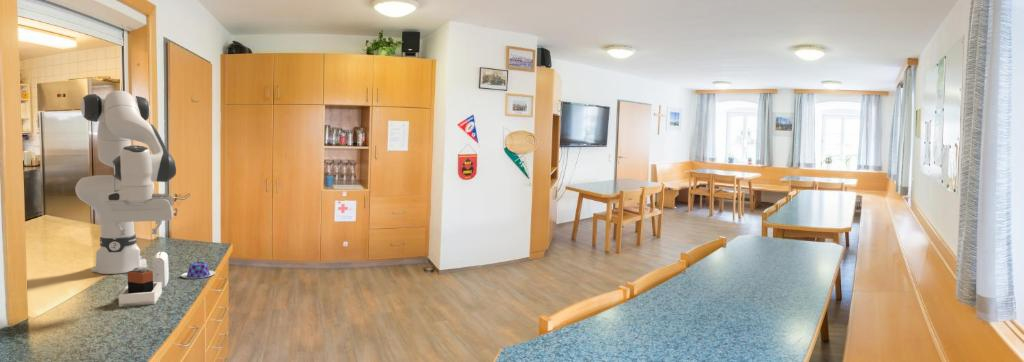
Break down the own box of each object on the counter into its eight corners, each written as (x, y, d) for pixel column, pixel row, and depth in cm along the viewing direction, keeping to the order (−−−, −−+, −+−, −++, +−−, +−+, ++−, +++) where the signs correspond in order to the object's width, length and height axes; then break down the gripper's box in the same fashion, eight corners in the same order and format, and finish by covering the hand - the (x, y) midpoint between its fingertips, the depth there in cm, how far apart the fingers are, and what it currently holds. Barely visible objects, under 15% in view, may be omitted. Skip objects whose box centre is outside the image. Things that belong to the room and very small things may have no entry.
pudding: (181, 281, 211) (180, 268, 210) (181, 274, 221) (180, 261, 221) (216, 277, 217) (216, 265, 217) (214, 270, 227) (214, 258, 227)
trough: (128, 295, 192) (128, 284, 191) (161, 292, 196) (161, 281, 195) (119, 307, 180) (118, 295, 179) (154, 303, 184) (154, 292, 183)
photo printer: (165, 287, 201) (164, 255, 200) (152, 289, 200) (150, 256, 198) (169, 280, 211) (169, 249, 210) (156, 281, 209) (155, 249, 208)
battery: (142, 300, 184) (141, 271, 183) (127, 297, 186) (126, 269, 185) (154, 296, 188) (153, 268, 187) (139, 294, 190) (138, 266, 189)
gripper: (174, 192, 191) (175, 231, 192) (103, 193, 183) (105, 234, 184) (171, 194, 185) (173, 234, 187) (98, 195, 177) (100, 237, 178)
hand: (138, 234), depth 185 cm, fingers open, 8 cm apart
